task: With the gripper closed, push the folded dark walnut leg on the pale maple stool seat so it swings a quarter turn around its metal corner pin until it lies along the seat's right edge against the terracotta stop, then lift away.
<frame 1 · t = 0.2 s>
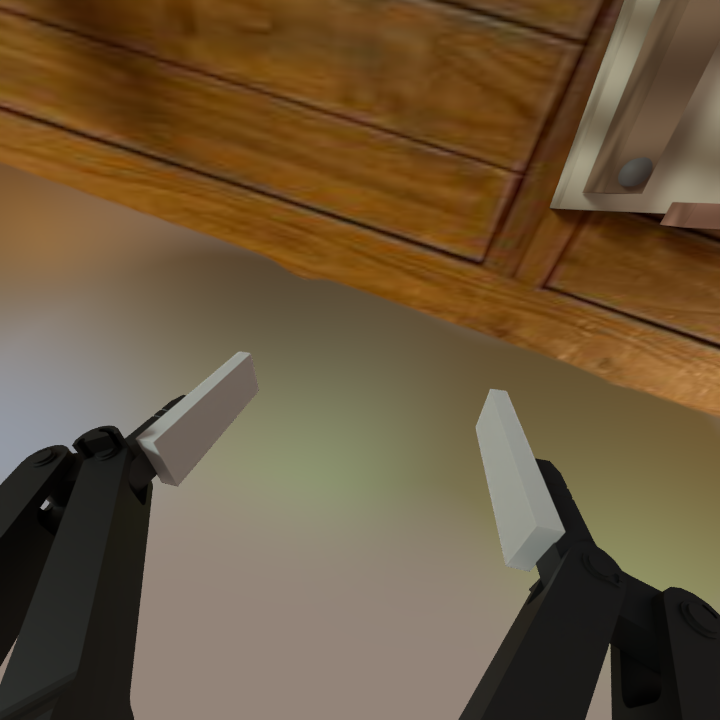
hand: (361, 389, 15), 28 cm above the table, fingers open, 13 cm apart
stool seat: (715, 36, 23), on the table
walnut leg: (664, 78, 21), point 5 cm above the table, hinge at 0.0°
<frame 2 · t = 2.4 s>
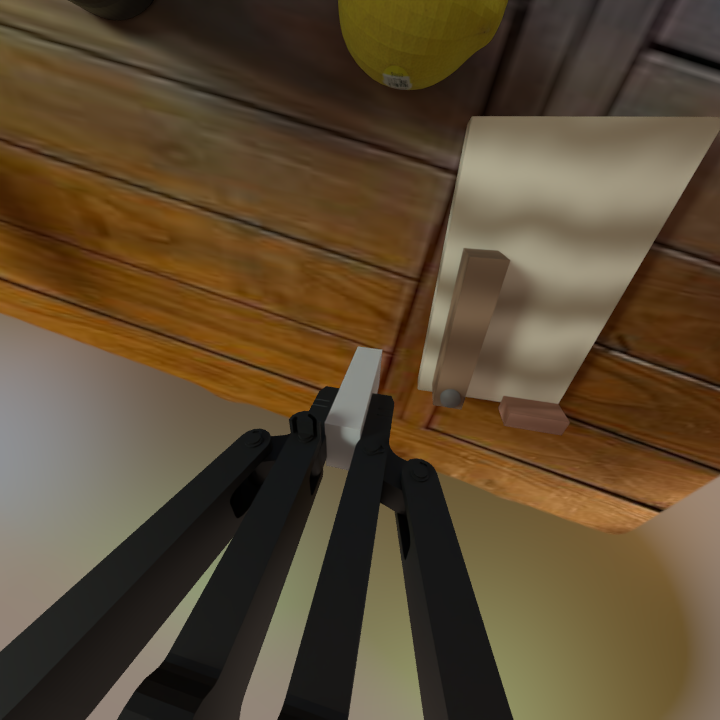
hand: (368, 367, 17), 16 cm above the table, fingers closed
stool seat: (515, 289, 28), on the table
walnut leg: (462, 337, 26), point 5 cm above the table, hinge at 0.0°
lemon: (415, 35, 20), on the table
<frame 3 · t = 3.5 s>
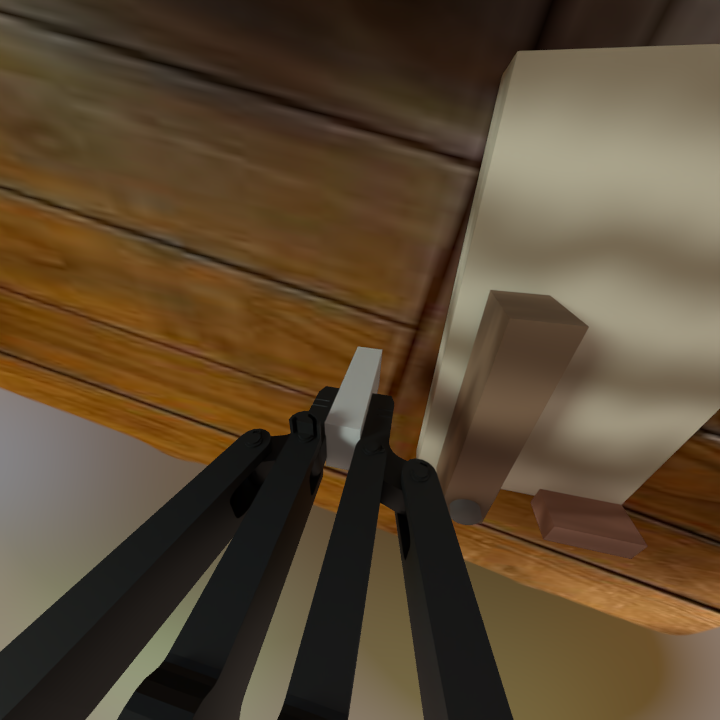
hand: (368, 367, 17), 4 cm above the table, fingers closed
stool seat: (565, 345, 18), on the table
walnut leg: (486, 426, 16), point 5 cm above the table, hinge at 0.0°
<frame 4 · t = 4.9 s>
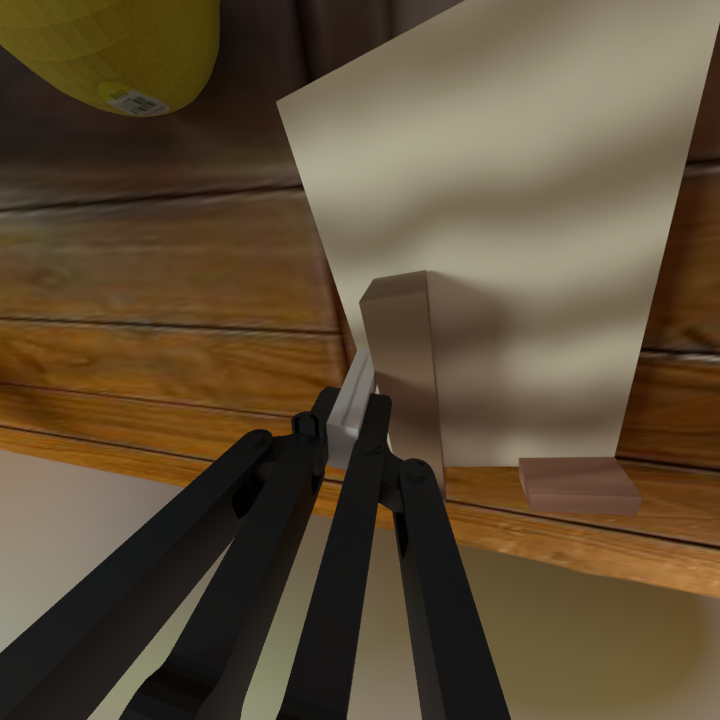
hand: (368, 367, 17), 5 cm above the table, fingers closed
stool seat: (474, 308, 18), on the table
walnut leg: (413, 406, 17), point 5 cm above the table, hinge at 4.0°, touching gripper
lemon: (181, 36, 14), on the table
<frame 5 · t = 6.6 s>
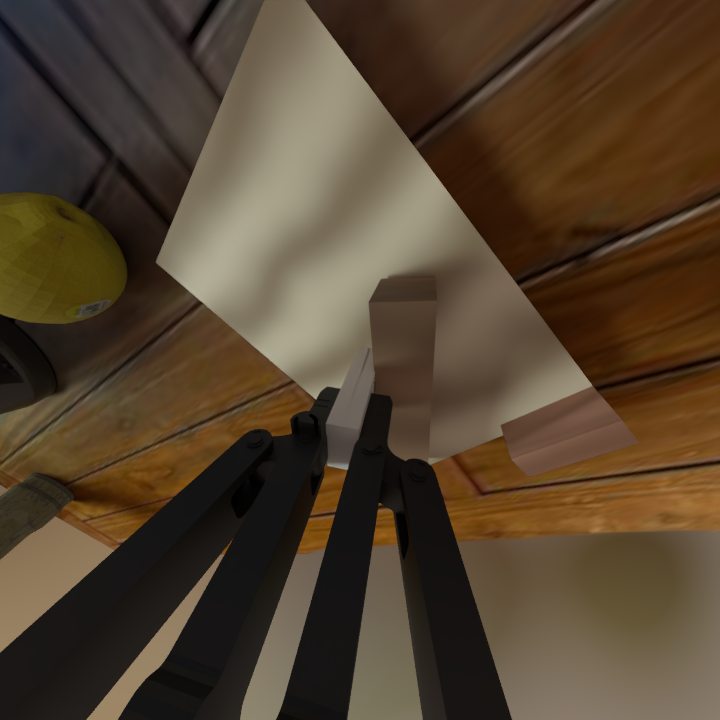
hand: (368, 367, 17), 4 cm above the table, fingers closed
thermos: (55, 486, 54), on the table
stool seat: (373, 312, 20), on the table
walnut leg: (405, 408, 17), point 5 cm above the table, hinge at 40.0°, touching gripper
lemon: (111, 252, 22), on the table
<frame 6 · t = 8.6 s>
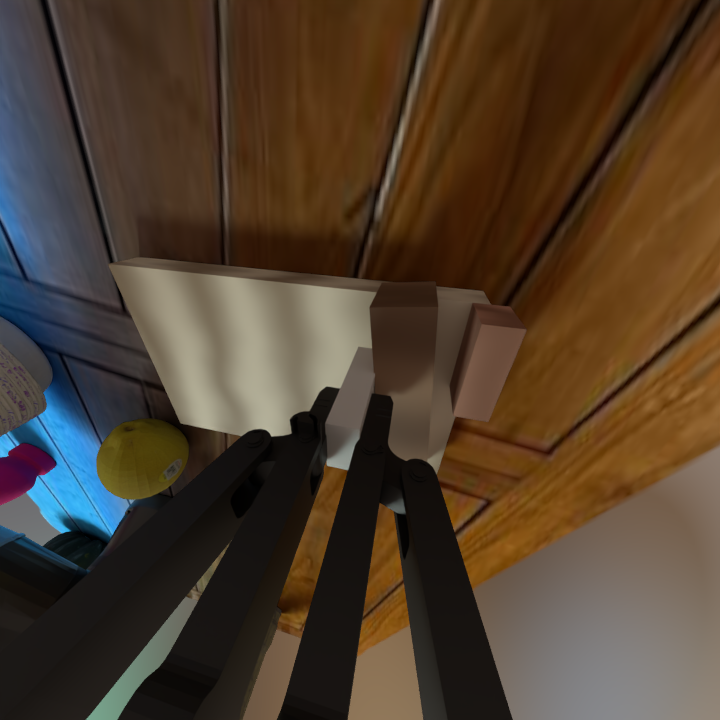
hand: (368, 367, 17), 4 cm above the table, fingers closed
thermos: (266, 605, 67), on the table
stool seat: (301, 364, 23), on the table
paper bowls: (17, 347, 31), on the table
walnut leg: (404, 413, 17), point 5 cm above the table, hinge at 82.8°, touching gripper
lemon: (175, 428, 33), on the table
pepper mill: (40, 454, 46), on the table
squash: (94, 539, 68), on the table
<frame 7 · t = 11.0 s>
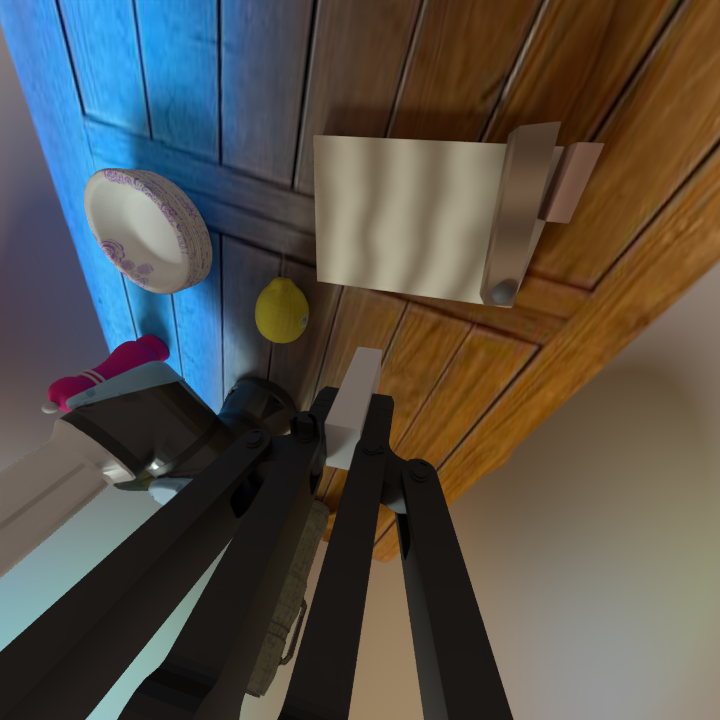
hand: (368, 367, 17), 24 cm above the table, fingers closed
thermos: (317, 507, 78), on the table
stool seat: (420, 225, 33), on the table
paper bowls: (183, 231, 41), on the table
walnut leg: (511, 227, 27), point 5 cm above the table, hinge at 82.9°
lemon: (295, 302, 44), on the table
pepper mill: (157, 346, 57), on the table
squash: (170, 446, 79), on the table
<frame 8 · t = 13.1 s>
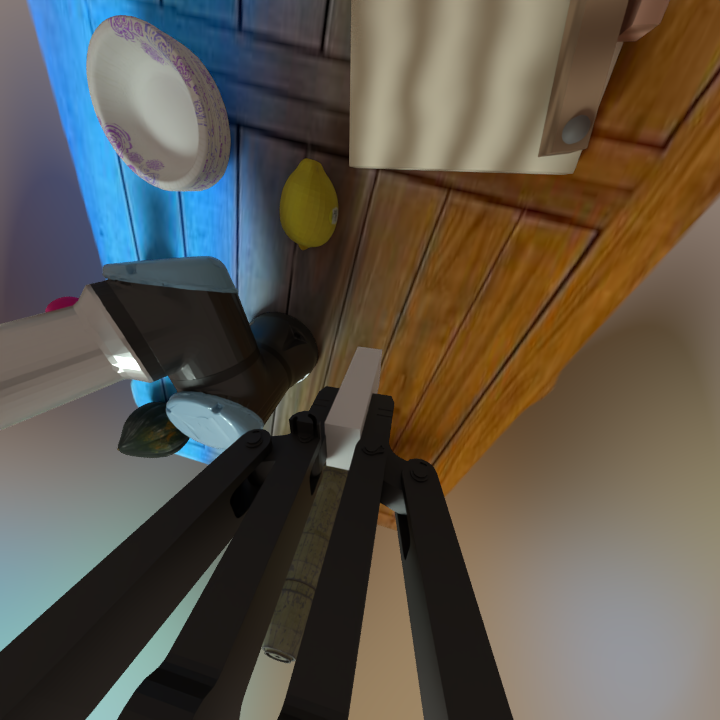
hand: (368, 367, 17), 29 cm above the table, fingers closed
thermos: (336, 472, 73), on the table
stool seat: (468, 83, 30), on the table
paper bowls: (196, 128, 37), on the table
walnut leg: (588, 42, 23), point 5 cm above the table, hinge at 82.9°
lemon: (320, 208, 40), on the table
squash: (177, 414, 74), on the table
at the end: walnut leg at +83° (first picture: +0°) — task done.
